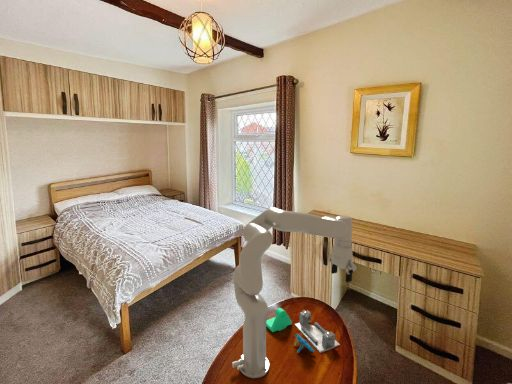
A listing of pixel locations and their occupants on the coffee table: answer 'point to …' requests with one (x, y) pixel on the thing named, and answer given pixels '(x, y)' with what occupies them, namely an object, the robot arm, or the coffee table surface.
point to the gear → (302, 343)
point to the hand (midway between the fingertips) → (341, 277)
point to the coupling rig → (316, 333)
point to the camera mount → (279, 321)
